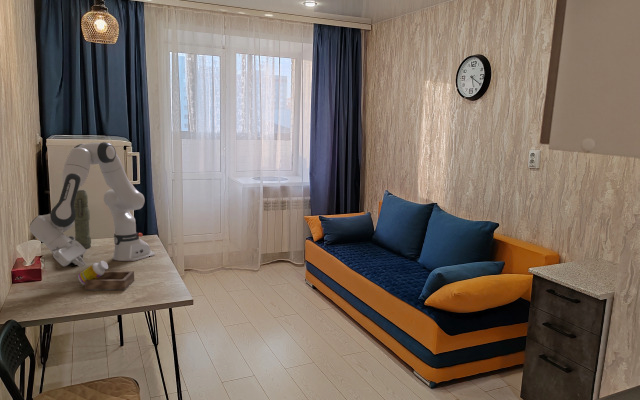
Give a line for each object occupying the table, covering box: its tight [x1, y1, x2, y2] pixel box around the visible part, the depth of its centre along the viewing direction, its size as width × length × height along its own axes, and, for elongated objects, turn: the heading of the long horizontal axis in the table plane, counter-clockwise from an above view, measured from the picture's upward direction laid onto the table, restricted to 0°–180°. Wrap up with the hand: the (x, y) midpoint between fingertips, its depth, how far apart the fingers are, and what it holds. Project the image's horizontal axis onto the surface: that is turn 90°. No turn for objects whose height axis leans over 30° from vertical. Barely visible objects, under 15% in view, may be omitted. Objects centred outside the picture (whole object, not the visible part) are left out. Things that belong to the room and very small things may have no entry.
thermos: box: [74, 189, 92, 250], centre depth 288 cm, size 9×12×35 cm
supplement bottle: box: [77, 260, 109, 286], centre depth 223 cm, size 7×7×13 cm
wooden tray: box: [84, 270, 135, 291], centre depth 225 cm, size 18×14×5 cm
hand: (83, 265), depth 222 cm, fingers closed
